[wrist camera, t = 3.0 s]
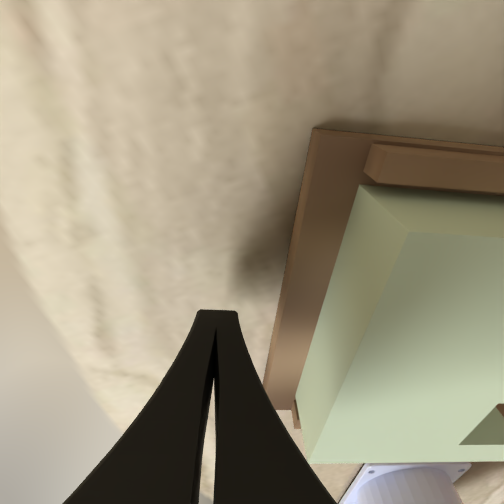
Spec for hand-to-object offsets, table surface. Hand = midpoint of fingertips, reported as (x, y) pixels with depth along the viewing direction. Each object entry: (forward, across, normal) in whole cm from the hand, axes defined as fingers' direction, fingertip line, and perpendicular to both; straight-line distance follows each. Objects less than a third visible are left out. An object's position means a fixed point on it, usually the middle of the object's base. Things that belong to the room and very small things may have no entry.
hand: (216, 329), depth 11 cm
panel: (+1, -9, 0) cm, 9 cm away
